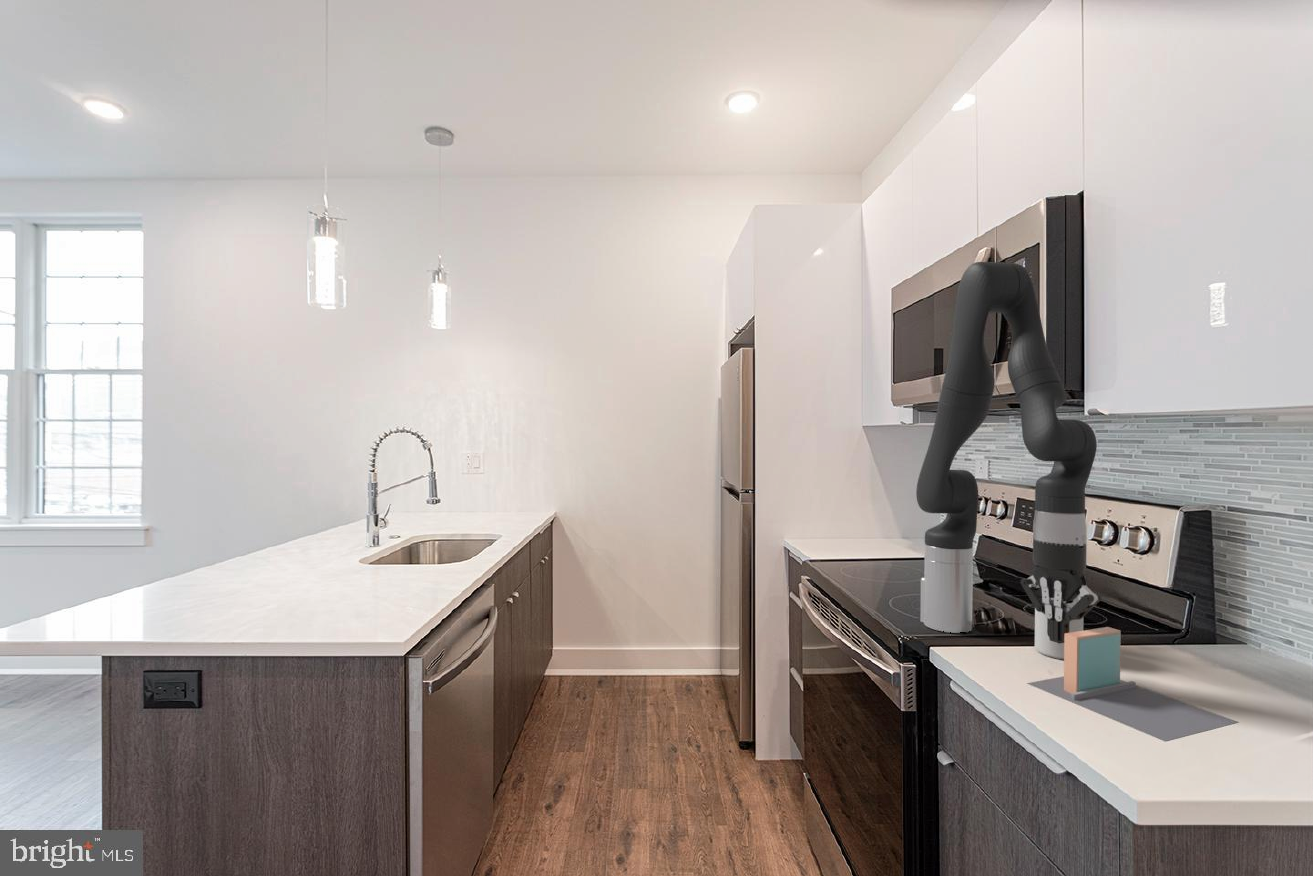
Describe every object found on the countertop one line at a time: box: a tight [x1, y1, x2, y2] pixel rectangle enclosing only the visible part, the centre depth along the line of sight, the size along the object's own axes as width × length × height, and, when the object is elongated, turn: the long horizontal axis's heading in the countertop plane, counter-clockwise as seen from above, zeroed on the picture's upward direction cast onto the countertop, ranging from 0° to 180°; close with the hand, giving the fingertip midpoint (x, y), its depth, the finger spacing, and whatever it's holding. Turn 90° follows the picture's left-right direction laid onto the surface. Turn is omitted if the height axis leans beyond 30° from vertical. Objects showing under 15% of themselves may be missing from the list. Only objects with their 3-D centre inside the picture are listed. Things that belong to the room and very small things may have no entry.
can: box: [1034, 594, 1084, 661], centre depth 114 cm, size 8×8×12 cm
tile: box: [1063, 626, 1122, 693], centre depth 98 cm, size 2×10×9 cm, turn 110°
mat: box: [1026, 675, 1239, 742], centre depth 94 cm, size 20×16×1 cm
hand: (1058, 641), depth 104 cm, fingers closed
